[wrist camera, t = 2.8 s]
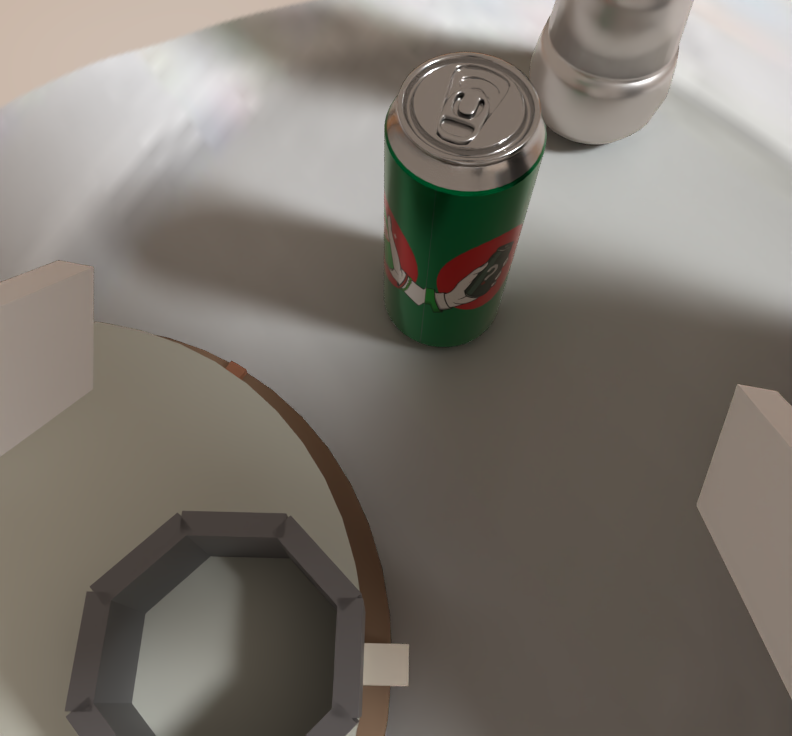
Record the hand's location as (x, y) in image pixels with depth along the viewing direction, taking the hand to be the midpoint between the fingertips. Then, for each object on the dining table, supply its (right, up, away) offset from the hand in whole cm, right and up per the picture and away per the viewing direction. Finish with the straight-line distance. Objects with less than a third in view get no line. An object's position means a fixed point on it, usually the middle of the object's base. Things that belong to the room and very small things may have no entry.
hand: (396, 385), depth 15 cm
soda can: (+2, +3, +18) cm, 19 cm away
